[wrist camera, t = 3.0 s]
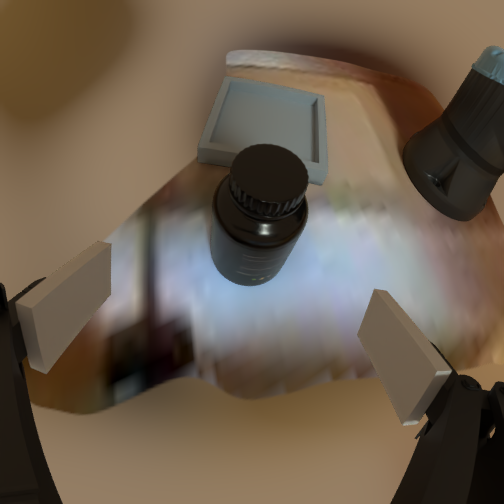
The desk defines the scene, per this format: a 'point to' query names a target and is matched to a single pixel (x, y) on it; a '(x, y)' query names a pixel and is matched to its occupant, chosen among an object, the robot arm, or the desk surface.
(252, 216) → the supplement bottle
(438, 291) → the desk surface
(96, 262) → the robot arm
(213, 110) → the tray
